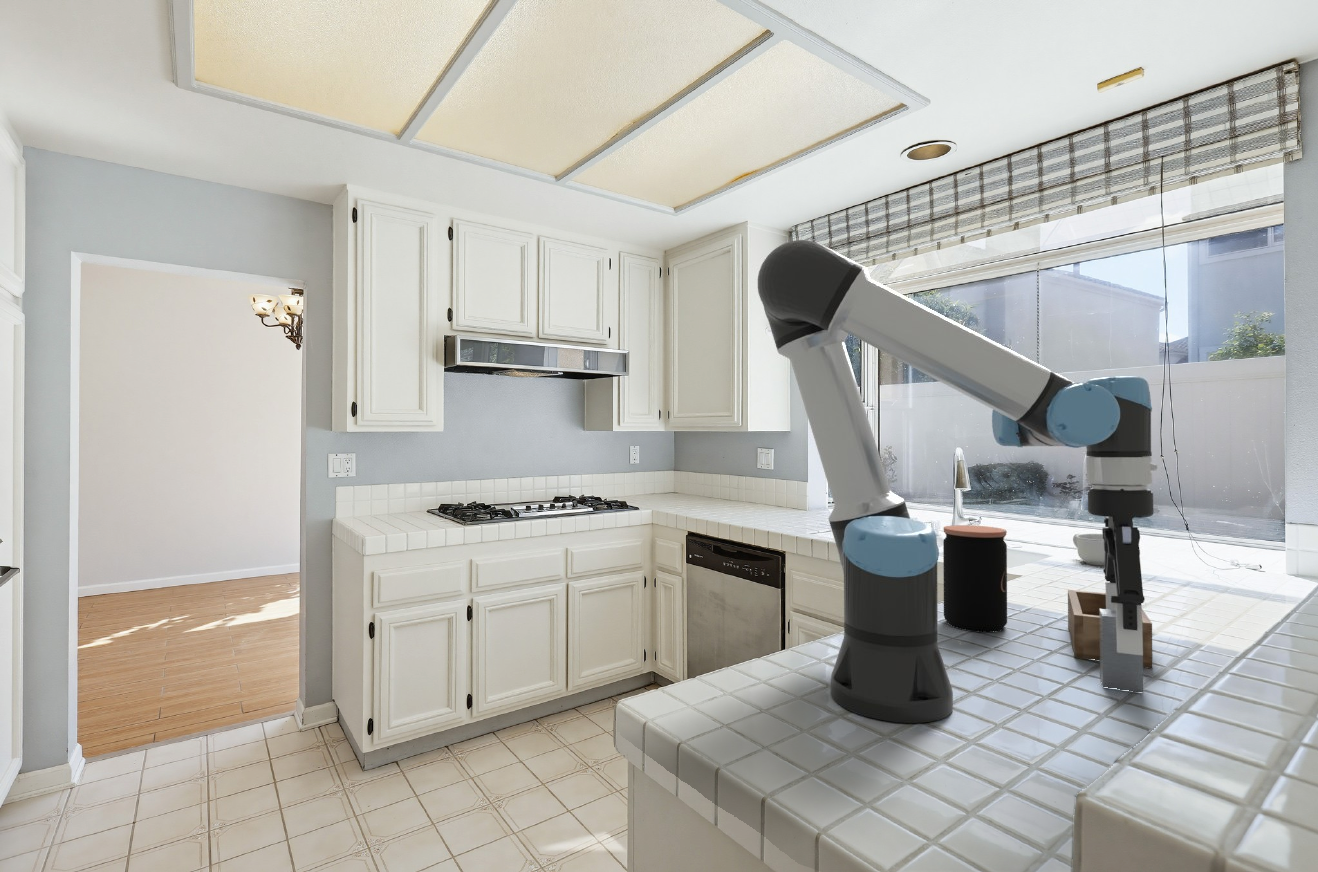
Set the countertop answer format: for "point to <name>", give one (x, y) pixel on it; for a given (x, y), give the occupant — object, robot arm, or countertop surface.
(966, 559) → the coffee jar
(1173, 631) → the countertop surface
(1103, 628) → the steel bar
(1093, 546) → the teacup
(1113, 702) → the countertop surface
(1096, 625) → the trough
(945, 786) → the countertop surface
